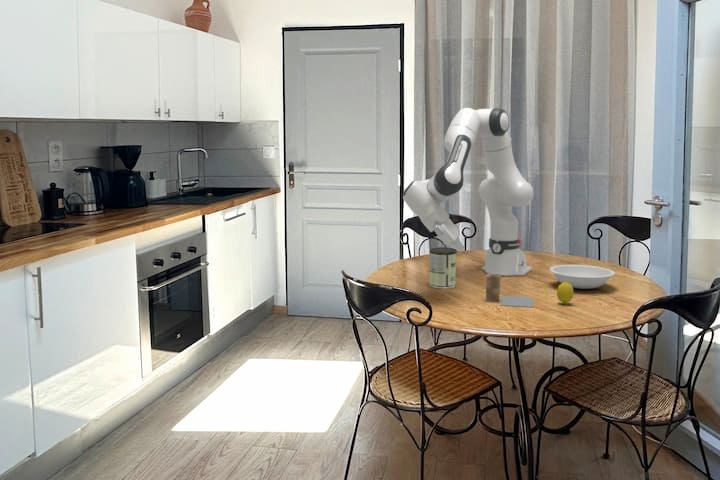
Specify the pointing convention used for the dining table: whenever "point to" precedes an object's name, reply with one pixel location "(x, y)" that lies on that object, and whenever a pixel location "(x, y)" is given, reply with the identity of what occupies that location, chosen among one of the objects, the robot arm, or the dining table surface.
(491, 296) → the walnut block
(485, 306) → the dining table surface
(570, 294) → the lemon
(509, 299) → the grey mat
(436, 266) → the coffee can
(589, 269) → the soup bowl
